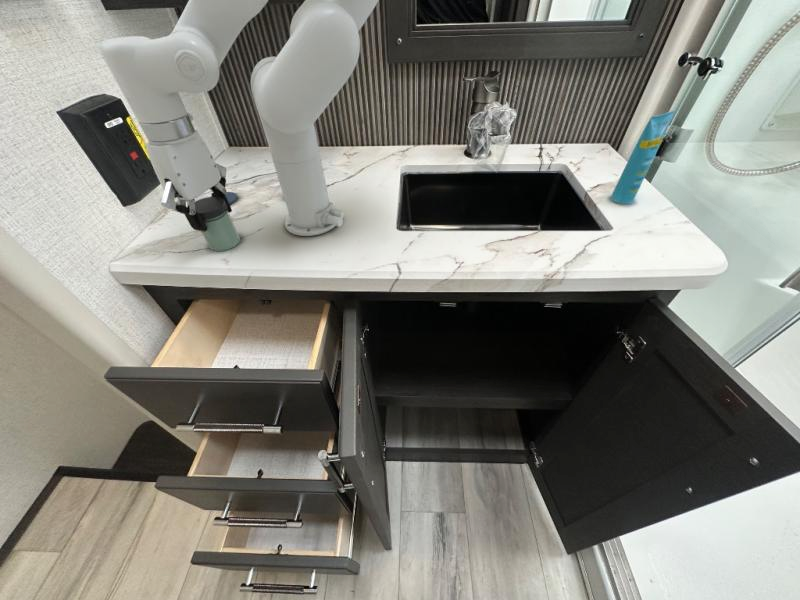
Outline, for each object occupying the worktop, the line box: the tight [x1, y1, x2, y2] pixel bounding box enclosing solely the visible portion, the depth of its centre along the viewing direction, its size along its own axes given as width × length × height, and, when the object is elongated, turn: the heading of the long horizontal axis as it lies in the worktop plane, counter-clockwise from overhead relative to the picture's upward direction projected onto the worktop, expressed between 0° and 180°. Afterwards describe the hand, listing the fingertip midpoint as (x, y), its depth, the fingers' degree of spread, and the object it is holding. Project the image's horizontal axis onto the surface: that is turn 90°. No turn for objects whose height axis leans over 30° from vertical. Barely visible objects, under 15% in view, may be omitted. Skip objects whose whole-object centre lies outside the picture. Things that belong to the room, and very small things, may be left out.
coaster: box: [210, 191, 239, 206], centre depth 87 cm, size 8×8×1 cm
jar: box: [200, 210, 241, 252], centre depth 70 cm, size 6×6×8 cm
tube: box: [610, 109, 676, 205], centre depth 74 cm, size 7×5×19 cm, turn 123°
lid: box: [195, 196, 228, 220], centre depth 67 cm, size 7×7×2 cm
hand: (213, 219), depth 69 cm, fingers closed on lid, 6 cm apart
